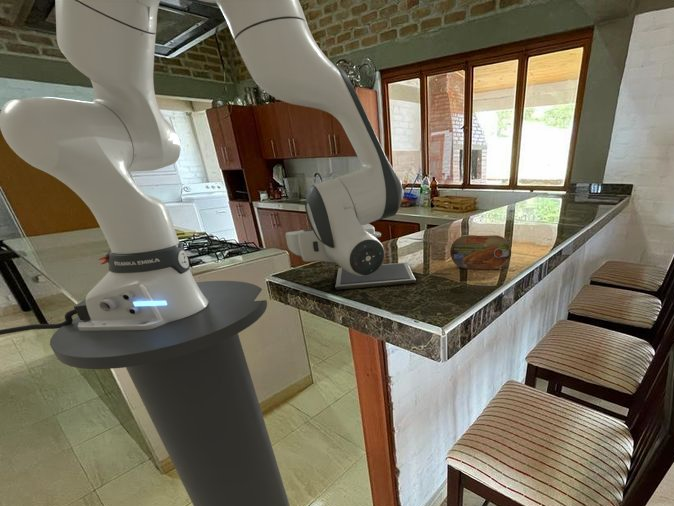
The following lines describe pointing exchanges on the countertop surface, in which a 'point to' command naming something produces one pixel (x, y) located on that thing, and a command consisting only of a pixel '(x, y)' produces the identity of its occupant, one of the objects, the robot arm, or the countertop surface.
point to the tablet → (376, 277)
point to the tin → (480, 251)
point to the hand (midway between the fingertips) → (323, 231)
